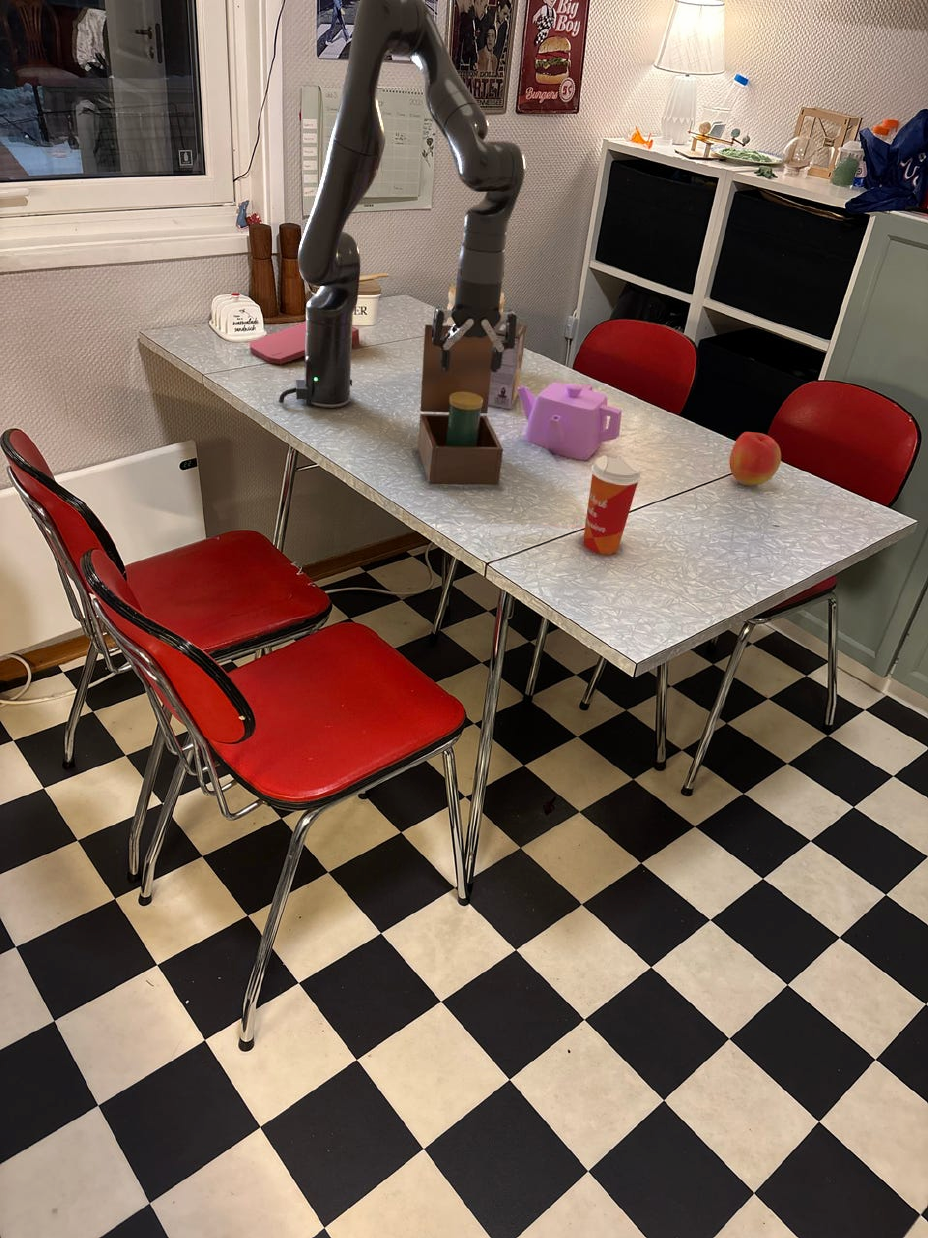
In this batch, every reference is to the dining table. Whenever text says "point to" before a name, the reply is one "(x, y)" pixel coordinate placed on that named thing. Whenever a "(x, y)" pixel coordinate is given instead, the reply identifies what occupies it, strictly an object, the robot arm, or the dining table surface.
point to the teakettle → (569, 419)
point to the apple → (754, 458)
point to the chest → (458, 454)
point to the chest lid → (455, 371)
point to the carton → (287, 344)
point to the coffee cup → (609, 502)
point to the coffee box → (507, 369)
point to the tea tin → (463, 419)
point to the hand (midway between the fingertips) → (469, 370)
